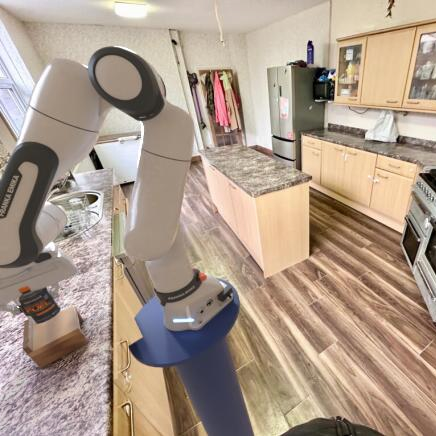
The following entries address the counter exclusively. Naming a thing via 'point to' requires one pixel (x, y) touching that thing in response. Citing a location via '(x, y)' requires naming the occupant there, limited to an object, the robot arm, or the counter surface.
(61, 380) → the counter surface
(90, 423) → the counter surface
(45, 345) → the tan scooped block
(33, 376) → the counter surface
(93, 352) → the counter surface
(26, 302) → the pill bottle
